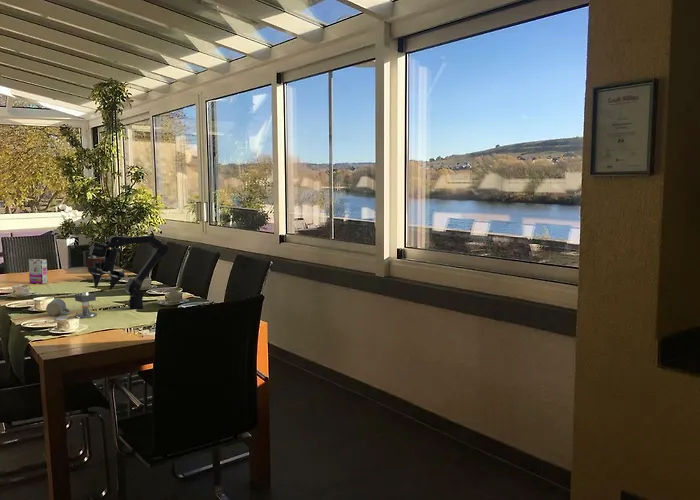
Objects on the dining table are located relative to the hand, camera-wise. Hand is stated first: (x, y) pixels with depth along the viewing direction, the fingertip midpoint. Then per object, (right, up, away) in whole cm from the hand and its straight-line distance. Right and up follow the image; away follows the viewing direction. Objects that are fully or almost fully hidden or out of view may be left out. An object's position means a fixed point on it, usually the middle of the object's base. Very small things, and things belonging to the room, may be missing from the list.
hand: (103, 288), depth 312 cm
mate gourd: (-47, -2, +105) cm, 115 cm away
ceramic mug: (-20, -13, -7) cm, 25 cm away
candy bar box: (-83, -3, +94) cm, 125 cm away
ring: (-4, -5, -11) cm, 13 cm away
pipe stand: (-4, -13, -11) cm, 17 cm away
